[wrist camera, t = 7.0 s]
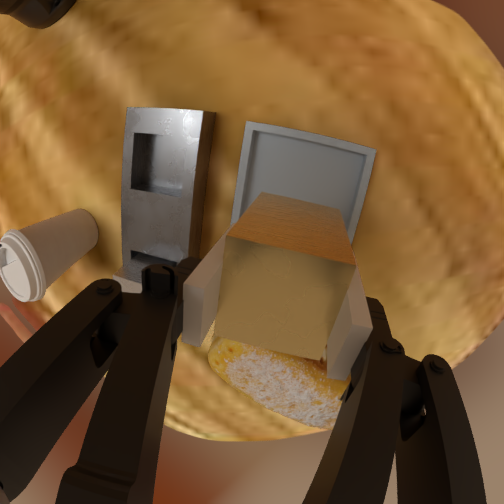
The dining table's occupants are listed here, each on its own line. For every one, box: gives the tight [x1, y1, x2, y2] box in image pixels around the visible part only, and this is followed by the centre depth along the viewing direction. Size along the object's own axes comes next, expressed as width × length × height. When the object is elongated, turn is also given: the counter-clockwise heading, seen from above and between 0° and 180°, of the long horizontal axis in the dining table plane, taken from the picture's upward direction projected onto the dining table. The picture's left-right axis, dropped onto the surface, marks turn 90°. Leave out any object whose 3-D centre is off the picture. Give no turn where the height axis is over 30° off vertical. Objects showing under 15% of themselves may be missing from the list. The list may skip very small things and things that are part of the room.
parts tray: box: [230, 121, 376, 244], centre depth 30 cm, size 13×13×2 cm
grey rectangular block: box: [113, 252, 177, 293], centre depth 34 cm, size 5×5×8 cm
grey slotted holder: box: [121, 107, 216, 266], centre depth 33 cm, size 26×9×4 cm, turn 171°
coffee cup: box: [0, 209, 98, 302], centre depth 32 cm, size 10×10×15 cm
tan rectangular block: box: [214, 192, 357, 360], centre depth 15 cm, size 5×5×8 cm
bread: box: [208, 334, 351, 430], centre depth 37 cm, size 13×26×8 cm, turn 58°
